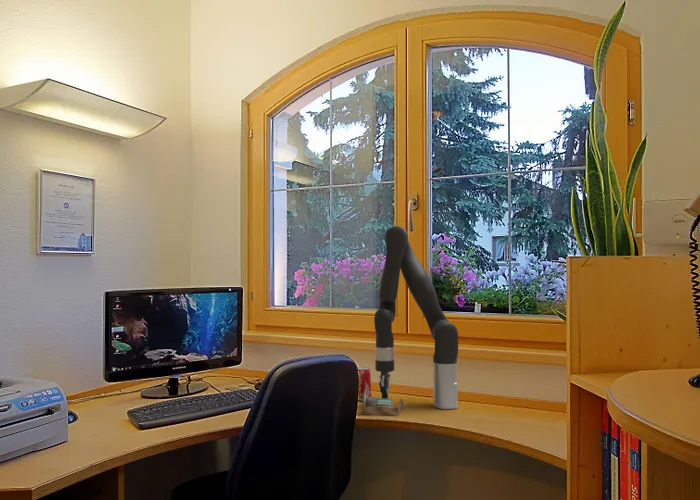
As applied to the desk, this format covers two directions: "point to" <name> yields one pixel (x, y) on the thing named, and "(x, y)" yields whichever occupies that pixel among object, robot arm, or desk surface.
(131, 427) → the desk surface
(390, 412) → the bay
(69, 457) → the desk surface
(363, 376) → the soda can
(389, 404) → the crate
